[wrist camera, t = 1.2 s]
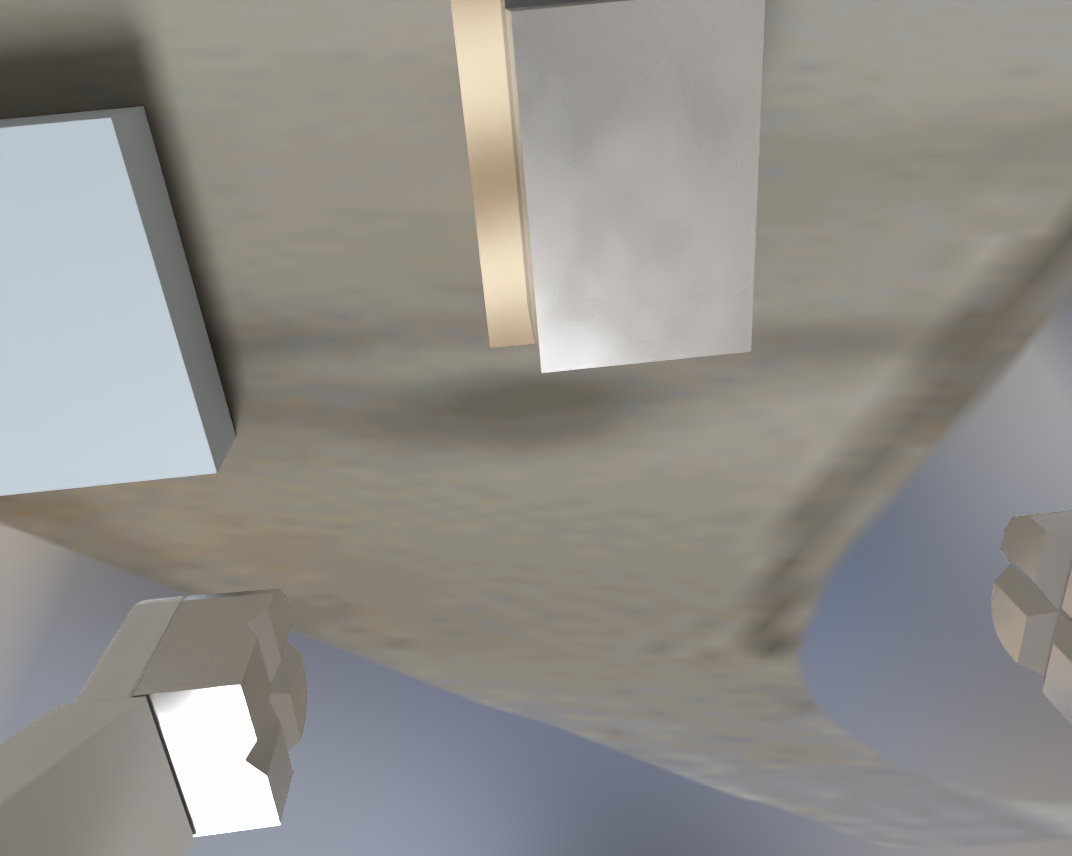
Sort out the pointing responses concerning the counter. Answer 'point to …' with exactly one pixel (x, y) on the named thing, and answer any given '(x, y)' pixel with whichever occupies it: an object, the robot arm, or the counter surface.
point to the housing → (636, 174)
